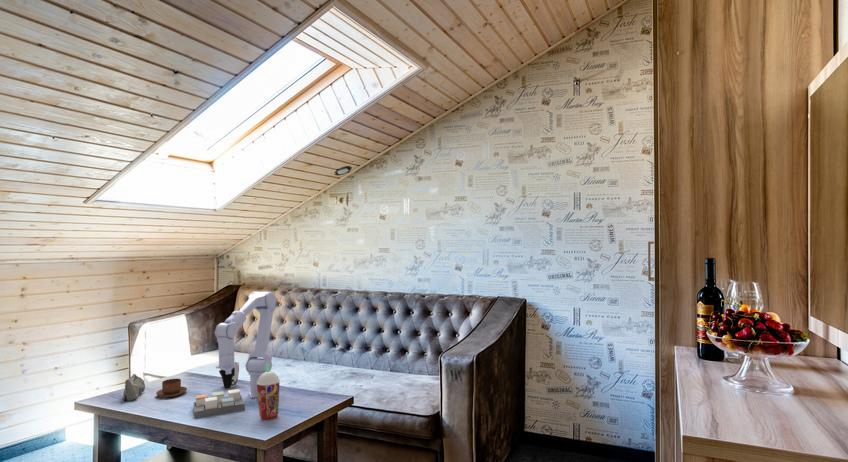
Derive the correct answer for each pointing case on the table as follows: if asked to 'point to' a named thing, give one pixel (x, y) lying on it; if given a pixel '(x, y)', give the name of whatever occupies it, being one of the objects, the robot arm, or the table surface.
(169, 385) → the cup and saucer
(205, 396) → the terracotta key
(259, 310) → the robot arm
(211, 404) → the cream key
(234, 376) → the cup
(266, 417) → the smoothie
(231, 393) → the cream key
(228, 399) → the blue key
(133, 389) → the mineral rock
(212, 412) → the keypad board
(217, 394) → the sage key
